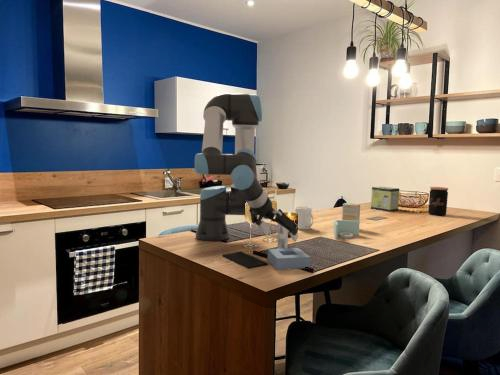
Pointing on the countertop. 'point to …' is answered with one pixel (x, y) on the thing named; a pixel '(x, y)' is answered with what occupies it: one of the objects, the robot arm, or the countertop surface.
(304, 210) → the mug
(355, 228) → the right angle wall
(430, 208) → the coffee jar
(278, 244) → the shaft
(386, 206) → the protein box
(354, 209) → the supplement box
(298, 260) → the block
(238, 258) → the cell phone
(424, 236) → the countertop surface
